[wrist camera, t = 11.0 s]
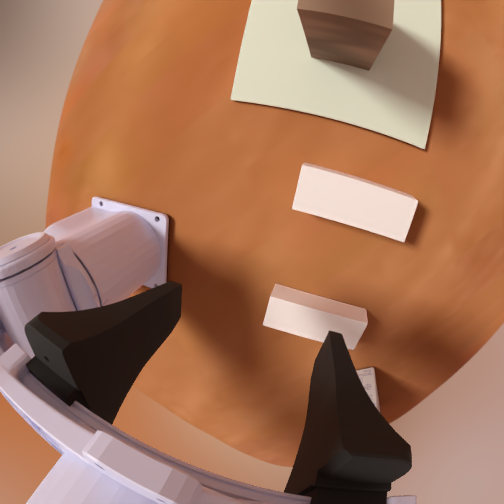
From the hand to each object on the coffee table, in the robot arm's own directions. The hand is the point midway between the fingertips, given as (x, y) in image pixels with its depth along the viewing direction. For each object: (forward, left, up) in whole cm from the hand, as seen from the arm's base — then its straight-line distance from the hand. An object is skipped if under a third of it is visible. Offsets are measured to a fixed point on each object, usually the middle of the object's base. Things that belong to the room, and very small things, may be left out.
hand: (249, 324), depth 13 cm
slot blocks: (+4, 0, -10) cm, 11 cm away
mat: (+1, +17, -10) cm, 20 cm away
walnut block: (+1, +17, -10) cm, 19 cm away
